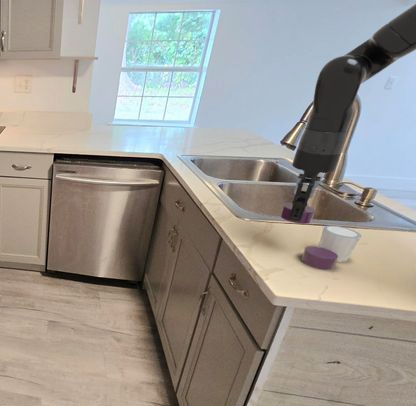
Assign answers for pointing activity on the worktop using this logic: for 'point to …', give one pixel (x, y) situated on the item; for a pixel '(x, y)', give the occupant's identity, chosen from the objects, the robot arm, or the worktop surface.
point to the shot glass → (339, 241)
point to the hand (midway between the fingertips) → (296, 215)
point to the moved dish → (306, 215)
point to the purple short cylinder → (319, 257)
